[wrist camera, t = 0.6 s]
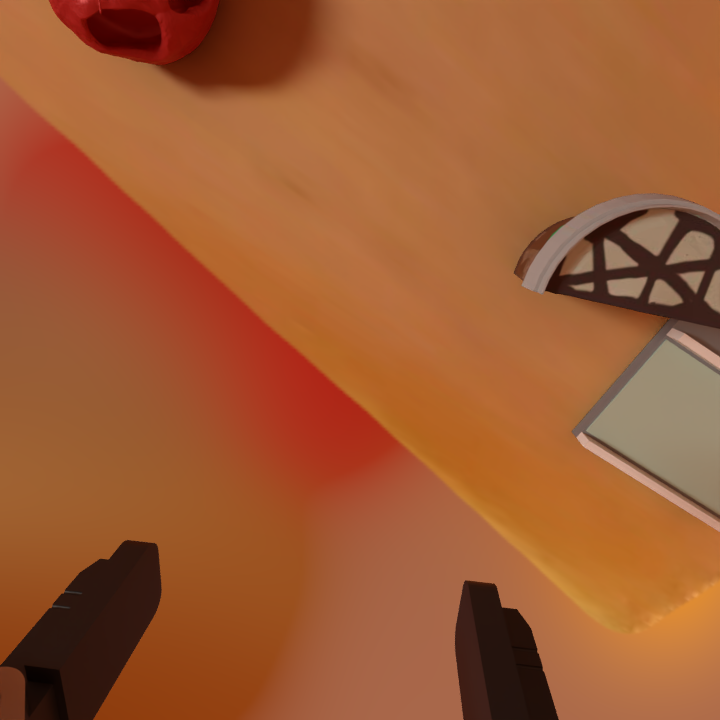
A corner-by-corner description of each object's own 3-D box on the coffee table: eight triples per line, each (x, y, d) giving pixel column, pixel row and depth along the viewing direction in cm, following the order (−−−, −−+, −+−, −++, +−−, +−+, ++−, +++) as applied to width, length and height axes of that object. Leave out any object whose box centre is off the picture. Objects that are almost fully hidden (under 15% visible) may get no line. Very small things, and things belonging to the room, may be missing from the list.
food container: (697, 218, 32) (823, 222, 23) (660, 305, 34) (763, 342, 25) (519, 179, 32) (571, 167, 23) (493, 268, 34) (531, 292, 25)
